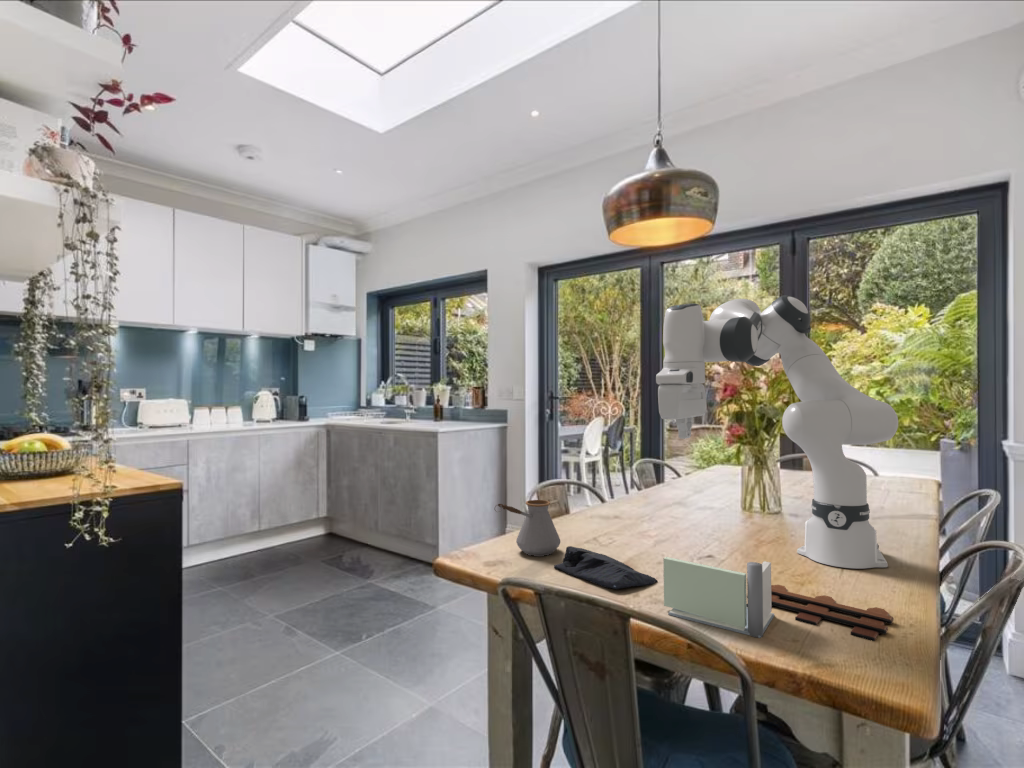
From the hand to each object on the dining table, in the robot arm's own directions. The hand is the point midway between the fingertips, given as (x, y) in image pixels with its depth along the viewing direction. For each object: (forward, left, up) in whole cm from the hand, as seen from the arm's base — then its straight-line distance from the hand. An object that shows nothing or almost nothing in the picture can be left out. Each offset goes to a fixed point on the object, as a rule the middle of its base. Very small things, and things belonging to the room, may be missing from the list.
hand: (684, 438), depth 121 cm
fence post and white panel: (+16, +19, -31) cm, 40 cm away
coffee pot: (+8, -38, -31) cm, 50 cm away
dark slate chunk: (+8, -16, -32) cm, 37 cm away
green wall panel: (+19, +10, -30) cm, 37 cm away
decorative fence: (+2, +26, -32) cm, 41 cm away
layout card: (+15, +12, -31) cm, 37 cm away
